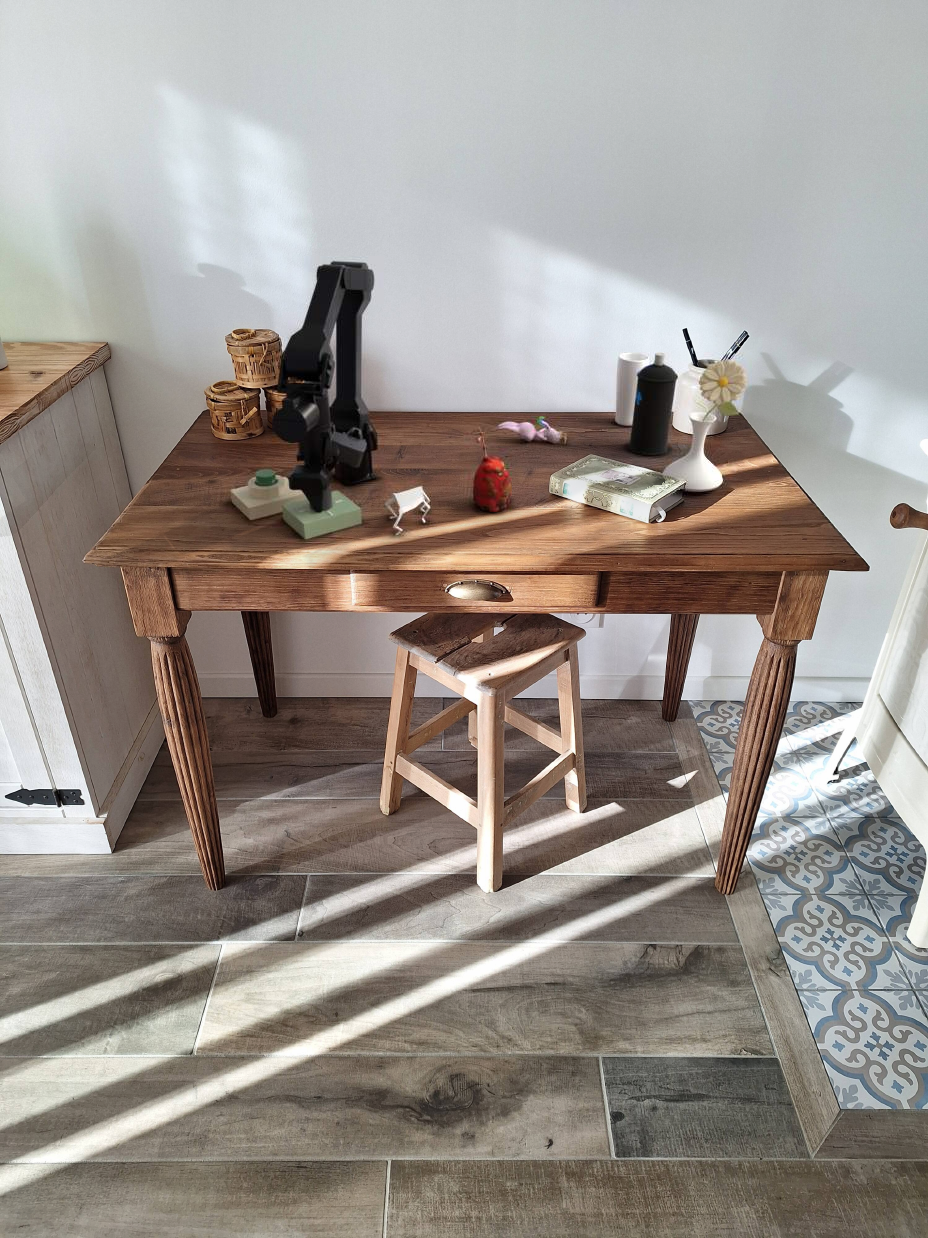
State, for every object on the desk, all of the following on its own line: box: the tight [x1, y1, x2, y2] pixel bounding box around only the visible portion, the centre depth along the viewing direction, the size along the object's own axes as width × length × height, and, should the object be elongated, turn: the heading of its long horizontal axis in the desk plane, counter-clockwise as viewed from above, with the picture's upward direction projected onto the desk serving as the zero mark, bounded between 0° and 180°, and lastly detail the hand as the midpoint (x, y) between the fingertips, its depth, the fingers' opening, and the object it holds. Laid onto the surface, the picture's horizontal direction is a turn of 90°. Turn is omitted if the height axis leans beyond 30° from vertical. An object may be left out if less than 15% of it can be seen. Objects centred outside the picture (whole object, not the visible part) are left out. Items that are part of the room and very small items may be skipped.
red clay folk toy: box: [472, 426, 512, 513], centre depth 153 cm, size 8×7×15 cm
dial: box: [309, 483, 333, 511], centre depth 148 cm, size 4×4×4 cm
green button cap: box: [254, 468, 277, 486], centre depth 154 cm, size 4×4×2 cm
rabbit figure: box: [497, 416, 568, 445], centre depth 182 cm, size 6×6×15 cm
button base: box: [229, 474, 306, 521], centre depth 156 cm, size 11×9×4 cm
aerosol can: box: [627, 352, 679, 457], centre depth 175 cm, size 8×8×20 cm
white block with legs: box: [384, 485, 431, 536], centre depth 149 cm, size 12×8×5 cm
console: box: [282, 490, 363, 540], centre depth 150 cm, size 11×9×3 cm
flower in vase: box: [662, 358, 748, 493], centre depth 158 cm, size 13×11×25 cm
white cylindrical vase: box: [614, 352, 650, 427], centre depth 190 cm, size 7×7×15 cm
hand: (321, 506), depth 149 cm, fingers closed on dial, 4 cm apart
